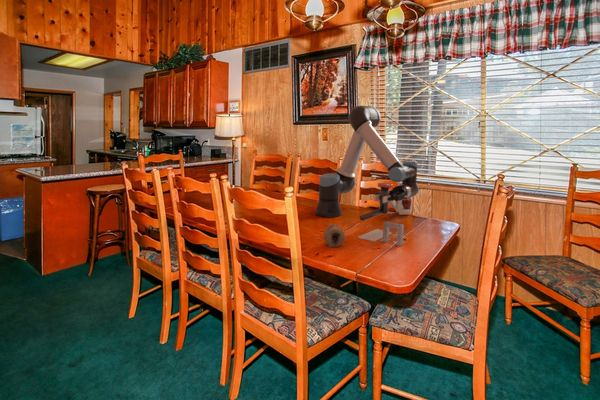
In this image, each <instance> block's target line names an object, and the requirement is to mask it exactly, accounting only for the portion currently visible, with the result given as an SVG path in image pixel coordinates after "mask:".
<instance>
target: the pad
mask: <svg viewBox="0 0 600 400" xmlns="http://www.w3.org/2000/svg"><path fill="white" fill-rule="evenodd" d="M392 234H394V233H393V232H391V231H389V236H390V235H392ZM357 239H361V240H365V241H369V242H372V243H375V242H377V241H381V240H382V239H383V229H378V228H376V229H373V230H371V231H369V232H368V231H367V232H366V233H364V234H361V235H359V236H357Z"/></svg>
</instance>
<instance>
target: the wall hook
mask: <svg viewBox="0 0 600 400" xmlns="http://www.w3.org/2000/svg"><path fill="white" fill-rule="evenodd" d="M378 205H379V206H380V200H378ZM388 205H390V207H391V208H392V209H396V201H395V200H394V201H388Z"/></svg>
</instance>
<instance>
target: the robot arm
mask: <svg viewBox="0 0 600 400" xmlns="http://www.w3.org/2000/svg"><path fill="white" fill-rule="evenodd" d="M381 117H382V115H381V112H380V111H379V110H378V109H377V107H374V106H371V105H356V106H354V107H353V108H352V109H351V110H350V112H349V114H348V122H349V124H350V126H351V128H352V130H353V132H352V135H351V138H350V141H349V143H348V145H347V148H346V151H345V155H344V157H343V160H342V163H341V165H340V167H338V168H337V169H336V171H335V172H330V173H324V174H322V175H320V176H319V181H318V184H319V187H318V189H319V190H318V203H317V205H316V208H315V215H316V214H317V216H318V215H319V217H323V216H324V217H325V218H333V217H334V218H337V217H340V216H342V208H341V204H340V195H342V194H347V193H350V192H351V191H352V190H354V187H355V185H356V180H355V178H356V174H355V171H356V169H357V166H358V163H359V161H360V159H361V155H362V153H363V151H364V147H365V146H366V145H367V146H368V147H369V148H370V150H371V151H372V152H373V153H374V156H376V157H377V159H378V160H379V161H380V163H381V164H382V165H383V167H384V168H385V169H386V170H387V172H388V178H389V180H390V181H391V182H393V183H398V182H402V185H399V186H396V185H395V186H394V187H392V189H391V190H389V195H388V196H385V197H383V202H382V203H385V202H388V201H394V202H396V201H400V200H404V199H407V198H409V197H413V198H414V196H416V195H418V193H419V192H420V186H419V184H418V183H417V182H418V181H417V180H418V178H417V177H418V162H417V161H416V160H404V161H402V162H401V161H400V160H399V158H397V156H396V155H395V154H394V152H393V151H392V149H390V147H389V146H388V145H387V144H386V142H385V141H384V140H383V138H382V137H381V136H380V134H379V133H378V132H377V130H376V129H375V128H376V127H377V126H379V125H380V122H381V119H382V118H381ZM380 192H381V191H378V192H376V195H373V202H379V200H380ZM388 203H389V202H388ZM336 216H337V217H336ZM324 217H323V218H324Z"/></svg>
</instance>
